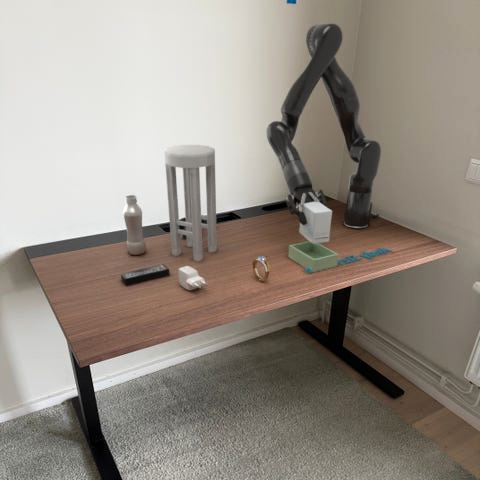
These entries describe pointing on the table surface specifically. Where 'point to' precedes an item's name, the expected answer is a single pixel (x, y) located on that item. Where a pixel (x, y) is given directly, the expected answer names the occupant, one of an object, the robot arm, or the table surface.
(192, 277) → the power adapter
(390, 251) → the nameplate
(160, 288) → the table surface
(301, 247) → the holder
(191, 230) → the stool
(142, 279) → the multiport hub
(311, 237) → the cosmetics box
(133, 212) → the plastic bottle
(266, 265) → the ring
